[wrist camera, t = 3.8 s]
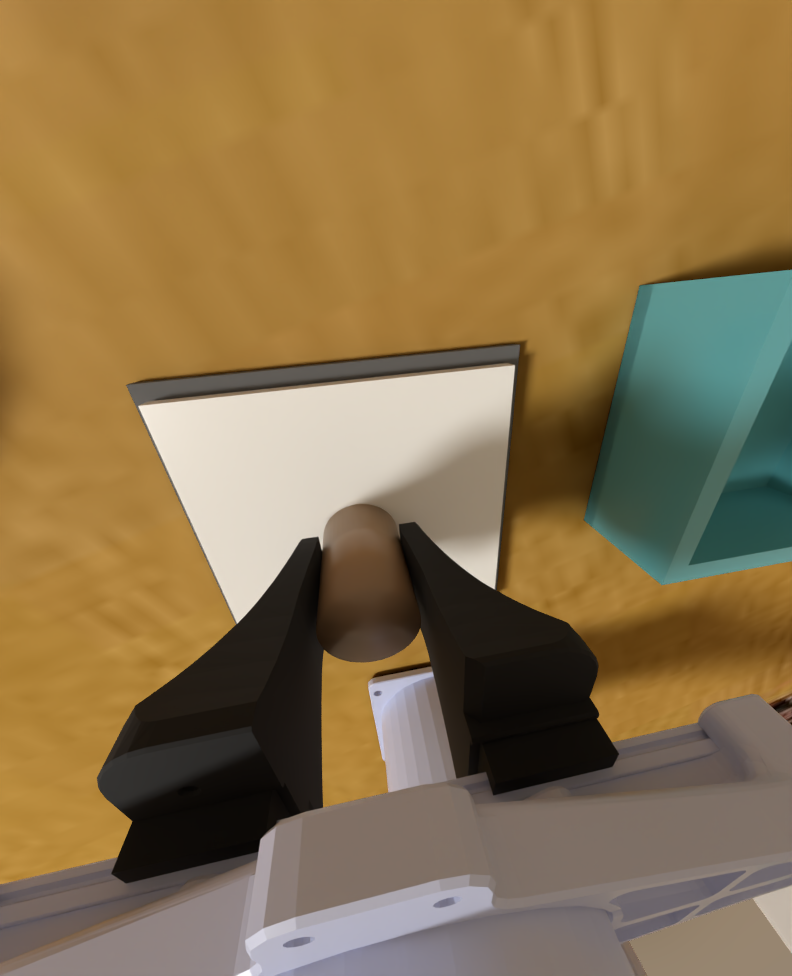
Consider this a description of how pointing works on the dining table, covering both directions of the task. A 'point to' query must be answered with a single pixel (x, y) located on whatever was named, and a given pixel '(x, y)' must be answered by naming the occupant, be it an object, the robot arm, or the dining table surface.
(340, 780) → the dining table surface
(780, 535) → the open square box
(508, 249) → the dining table surface
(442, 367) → the mat
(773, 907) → the soap bottle
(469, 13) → the dining table surface
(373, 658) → the lid
